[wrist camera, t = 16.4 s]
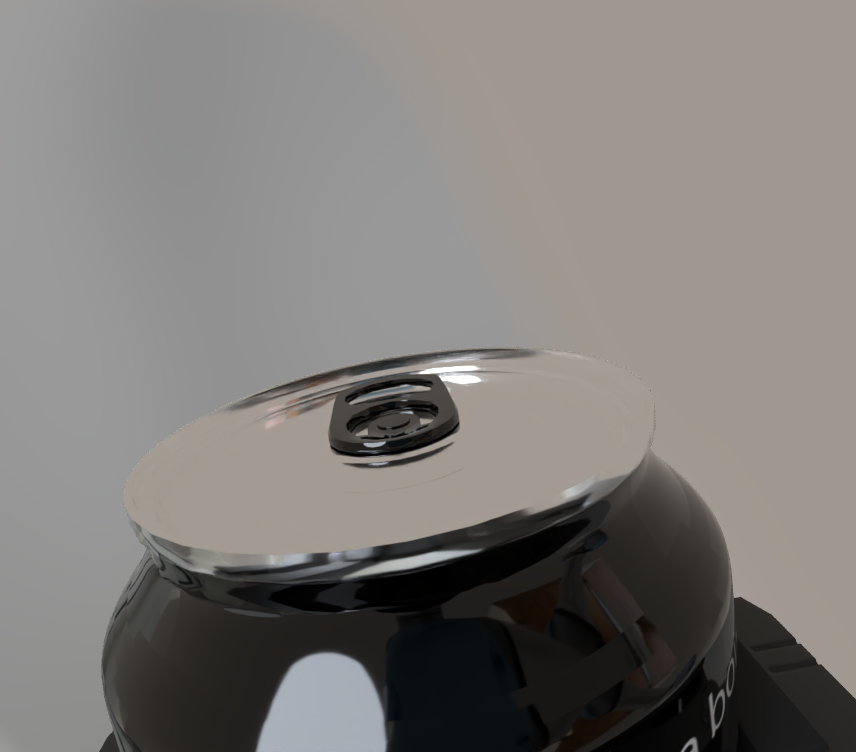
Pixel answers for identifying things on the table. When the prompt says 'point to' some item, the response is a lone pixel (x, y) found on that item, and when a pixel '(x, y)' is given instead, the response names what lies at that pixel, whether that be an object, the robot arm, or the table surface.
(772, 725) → the robot arm
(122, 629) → the beverage can
